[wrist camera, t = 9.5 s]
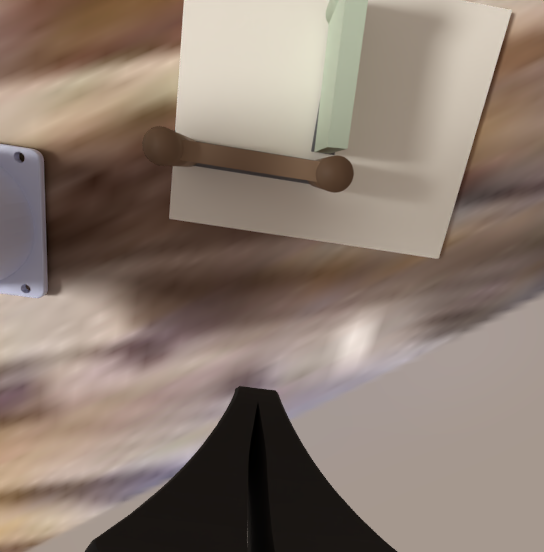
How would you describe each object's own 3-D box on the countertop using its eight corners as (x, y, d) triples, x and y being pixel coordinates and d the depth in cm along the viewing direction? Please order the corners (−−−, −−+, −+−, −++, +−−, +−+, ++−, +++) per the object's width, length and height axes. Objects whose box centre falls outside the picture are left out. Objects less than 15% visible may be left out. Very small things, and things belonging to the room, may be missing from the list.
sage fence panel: (333, 153, 18) (353, 148, 14) (310, 151, 18) (323, 146, 14) (353, -1, 16) (383, -60, 12) (327, -4, 16) (348, -63, 12)
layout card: (170, 218, 19) (168, 219, 19) (189, -49, 16) (187, -55, 15) (435, 257, 20) (439, 259, 20) (508, 12, 17) (513, 8, 16)
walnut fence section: (172, 164, 18) (141, 162, 14) (174, 135, 18) (143, 123, 13) (329, 189, 18) (349, 195, 14) (334, 161, 18) (357, 158, 14)
